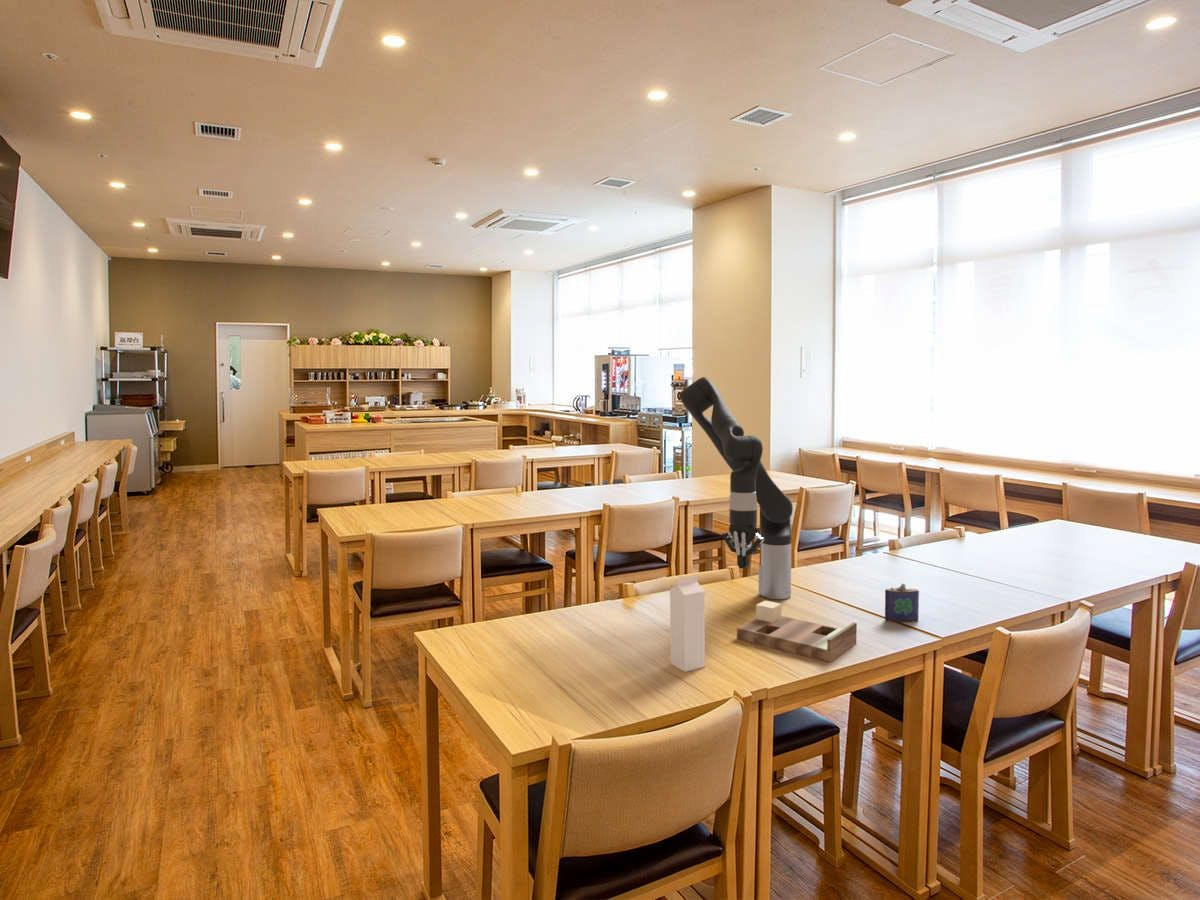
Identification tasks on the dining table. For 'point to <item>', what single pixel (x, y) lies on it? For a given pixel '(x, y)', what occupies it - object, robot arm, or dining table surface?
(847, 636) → the board
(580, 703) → the dining table surface
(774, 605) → the block
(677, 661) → the milk
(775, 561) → the robot arm
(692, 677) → the dining table surface
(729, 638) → the dining table surface
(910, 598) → the flask
